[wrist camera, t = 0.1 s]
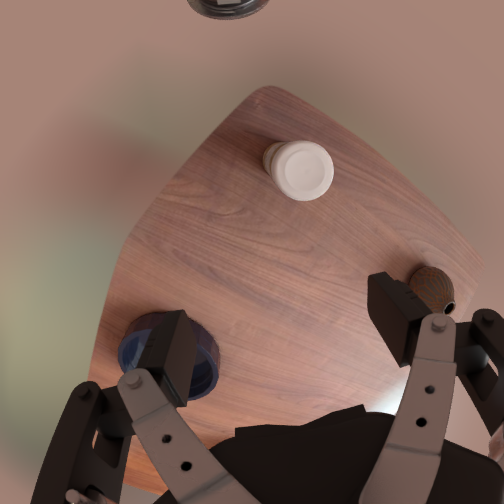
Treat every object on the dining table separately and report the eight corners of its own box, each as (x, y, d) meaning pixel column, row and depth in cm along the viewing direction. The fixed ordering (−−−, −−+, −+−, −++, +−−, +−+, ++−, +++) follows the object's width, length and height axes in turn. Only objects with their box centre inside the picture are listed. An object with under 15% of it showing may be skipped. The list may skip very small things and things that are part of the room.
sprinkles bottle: (296, 182, 33) (327, 207, 20) (258, 175, 32) (268, 196, 20) (303, 145, 31) (340, 148, 19) (265, 137, 31) (280, 134, 18)
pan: (129, 298, 38) (118, 315, 34) (231, 327, 40) (230, 346, 36) (125, 367, 44) (118, 385, 40) (208, 390, 46) (206, 409, 42)
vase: (441, 261, 38) (473, 286, 29) (428, 298, 40) (455, 328, 32) (409, 258, 37) (441, 286, 29) (396, 299, 40) (423, 331, 32)
